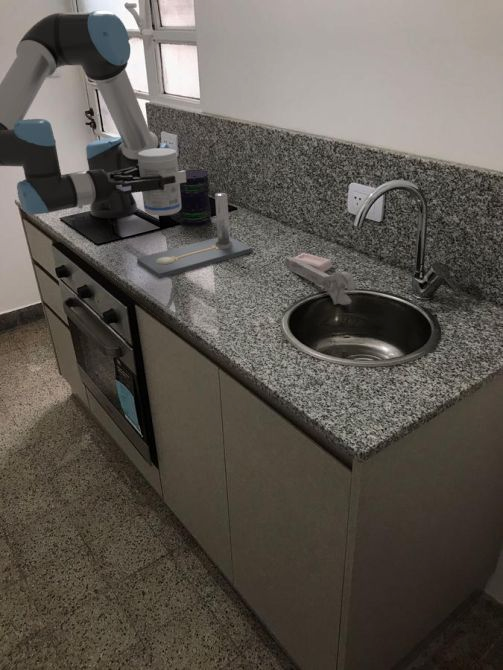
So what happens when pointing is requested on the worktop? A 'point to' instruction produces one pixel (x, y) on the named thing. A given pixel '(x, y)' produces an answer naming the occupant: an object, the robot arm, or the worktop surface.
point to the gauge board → (191, 257)
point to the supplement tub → (155, 165)
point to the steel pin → (222, 220)
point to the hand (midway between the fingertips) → (175, 172)
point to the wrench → (324, 280)
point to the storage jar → (195, 199)
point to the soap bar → (315, 261)
